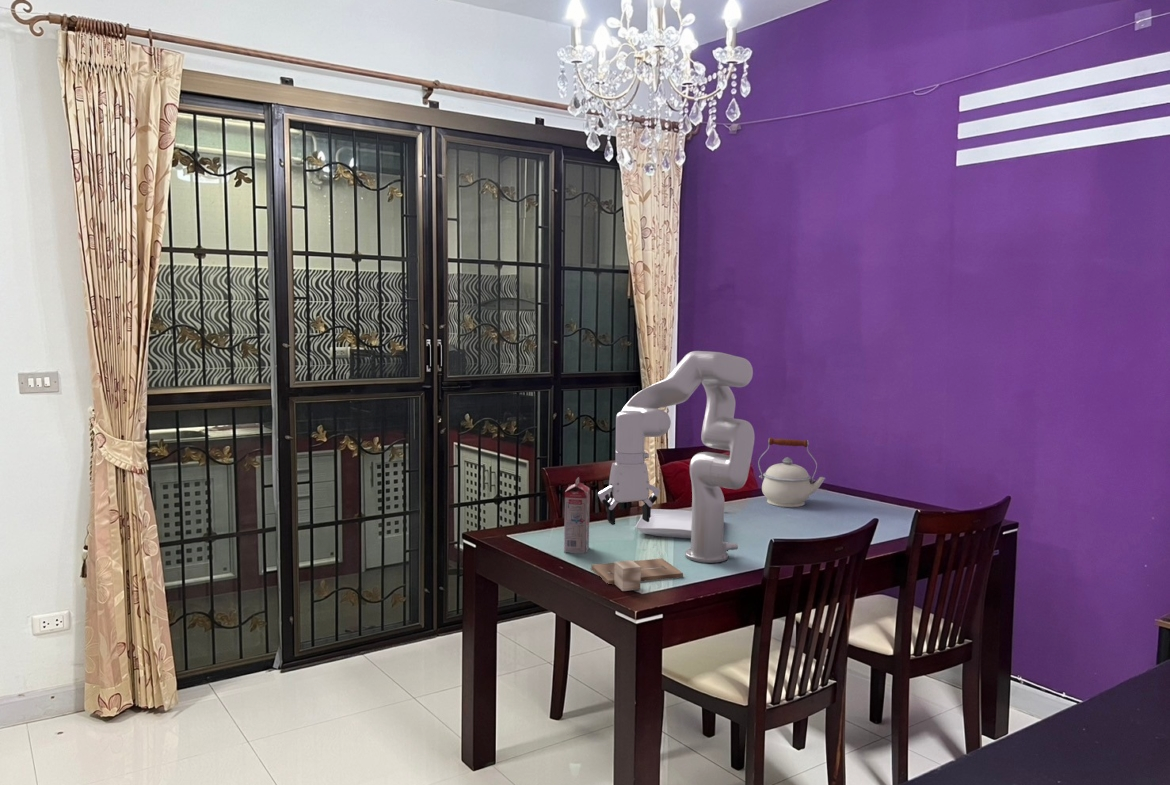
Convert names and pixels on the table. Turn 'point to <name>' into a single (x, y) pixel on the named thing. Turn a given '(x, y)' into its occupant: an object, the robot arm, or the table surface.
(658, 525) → the square plate
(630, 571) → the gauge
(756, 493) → the table surface
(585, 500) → the juice carton
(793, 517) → the table surface
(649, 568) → the board
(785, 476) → the kettle
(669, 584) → the table surface
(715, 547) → the robot arm
